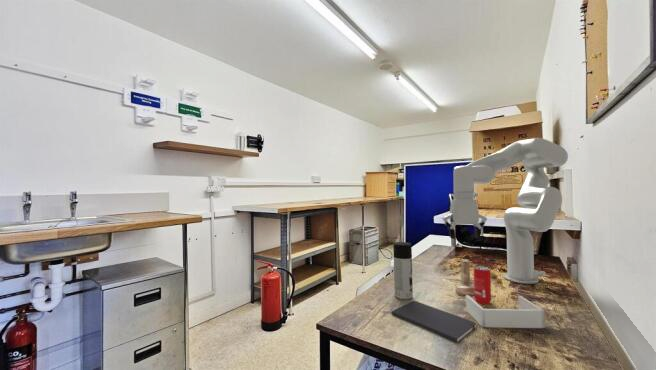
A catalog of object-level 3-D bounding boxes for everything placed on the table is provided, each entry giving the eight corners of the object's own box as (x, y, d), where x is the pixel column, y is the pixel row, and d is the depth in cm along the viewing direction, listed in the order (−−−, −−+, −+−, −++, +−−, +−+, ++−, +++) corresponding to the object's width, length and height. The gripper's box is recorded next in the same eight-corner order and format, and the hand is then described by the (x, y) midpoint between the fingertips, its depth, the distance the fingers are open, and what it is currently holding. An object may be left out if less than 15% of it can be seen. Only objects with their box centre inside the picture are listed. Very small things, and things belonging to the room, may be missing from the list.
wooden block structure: (478, 286, 111) (477, 259, 112) (490, 294, 102) (489, 265, 103) (448, 285, 112) (448, 259, 112) (457, 294, 103) (457, 265, 103)
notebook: (391, 316, 88) (457, 344, 72) (391, 311, 88) (457, 338, 72) (413, 304, 96) (477, 328, 80) (413, 300, 96) (477, 322, 80)
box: (521, 311, 89) (520, 295, 89) (545, 328, 78) (545, 310, 78) (466, 310, 90) (465, 295, 90) (482, 327, 79) (482, 310, 79)
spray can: (413, 300, 98) (412, 245, 98) (394, 299, 99) (393, 245, 100) (411, 293, 105) (410, 241, 105) (393, 292, 106) (393, 241, 106)
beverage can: (471, 299, 99) (470, 266, 99) (484, 298, 99) (484, 265, 99) (480, 305, 94) (479, 270, 94) (494, 304, 94) (493, 269, 94)
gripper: (481, 195, 113) (481, 236, 113) (439, 196, 114) (439, 236, 114) (490, 196, 106) (491, 240, 106) (445, 196, 107) (446, 240, 107)
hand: (464, 238), depth 110 cm, fingers open, 9 cm apart
